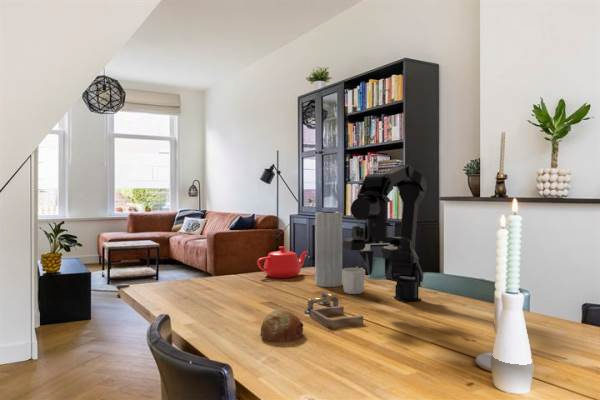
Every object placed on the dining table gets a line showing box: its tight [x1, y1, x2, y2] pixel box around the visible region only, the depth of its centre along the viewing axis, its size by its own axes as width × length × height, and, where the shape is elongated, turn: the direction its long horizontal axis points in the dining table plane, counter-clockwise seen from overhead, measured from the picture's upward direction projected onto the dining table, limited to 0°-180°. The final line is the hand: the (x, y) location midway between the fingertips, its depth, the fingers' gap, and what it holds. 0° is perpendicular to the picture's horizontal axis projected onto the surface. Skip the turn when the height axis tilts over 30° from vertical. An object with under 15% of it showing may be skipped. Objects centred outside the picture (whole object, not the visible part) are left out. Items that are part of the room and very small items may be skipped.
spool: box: [367, 257, 387, 281], centre depth 128 cm, size 5×5×6 cm
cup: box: [342, 267, 366, 295], centre depth 154 cm, size 11×8×8 cm
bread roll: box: [259, 309, 304, 343], centre depth 108 cm, size 10×10×8 cm
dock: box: [308, 305, 364, 329], centre depth 121 cm, size 10×12×2 cm
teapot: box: [256, 245, 309, 279], centre depth 188 cm, size 25×16×12 cm, turn 124°
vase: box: [314, 211, 343, 288], centre depth 169 cm, size 10×10×27 cm
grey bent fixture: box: [303, 290, 339, 315], centre depth 135 cm, size 12×12×4 cm
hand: (377, 274), depth 128 cm, fingers closed on spool, 4 cm apart
